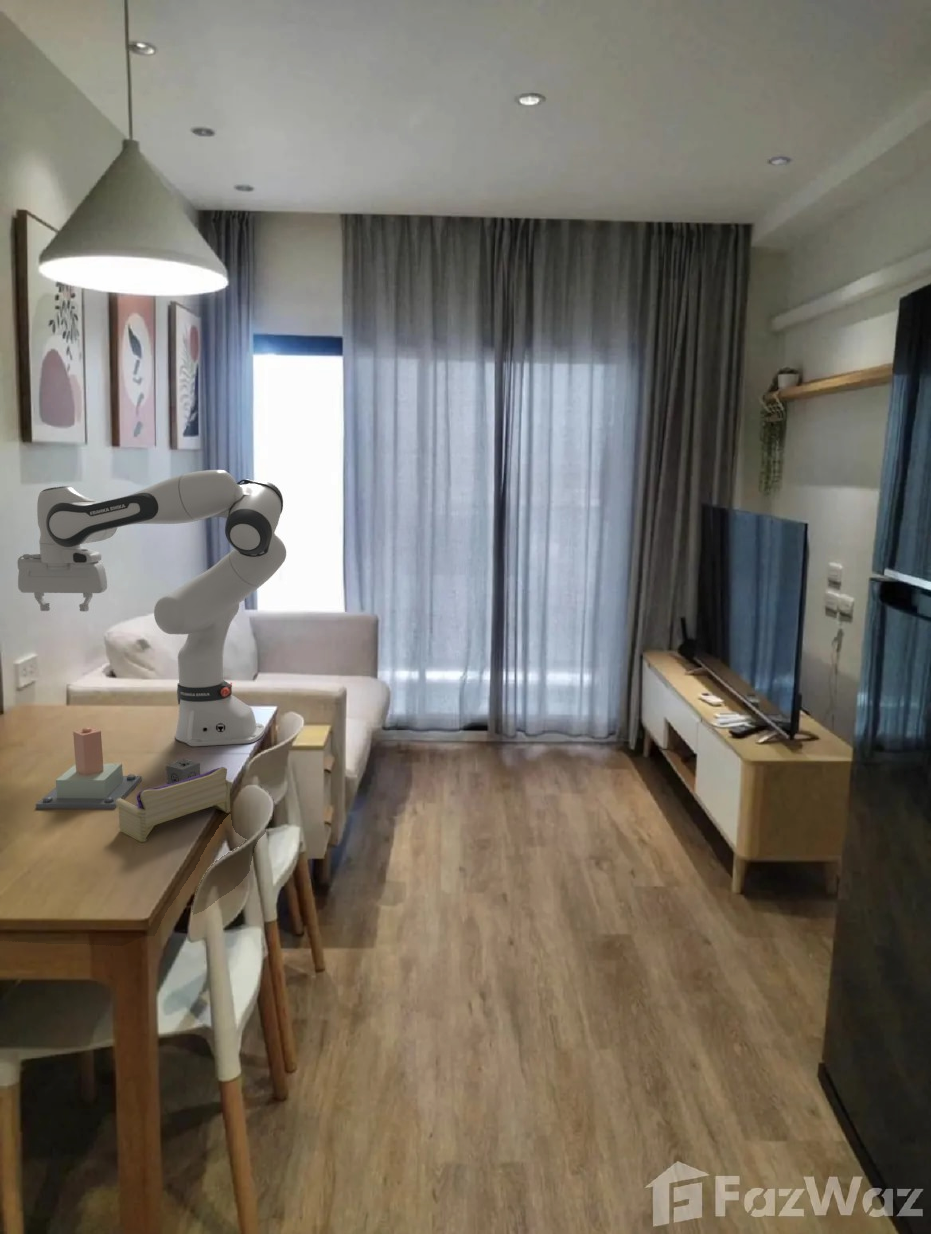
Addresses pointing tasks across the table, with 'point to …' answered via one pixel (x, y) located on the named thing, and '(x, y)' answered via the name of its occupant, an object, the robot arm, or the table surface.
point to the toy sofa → (174, 802)
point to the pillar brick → (88, 751)
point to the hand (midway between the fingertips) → (64, 610)
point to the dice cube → (182, 770)
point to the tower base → (90, 802)
